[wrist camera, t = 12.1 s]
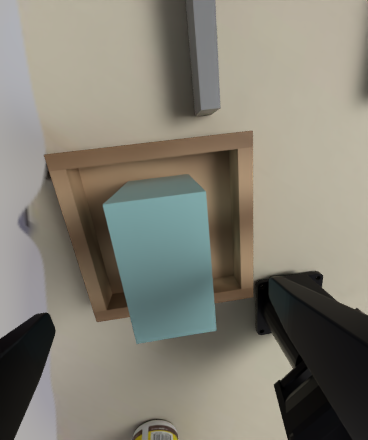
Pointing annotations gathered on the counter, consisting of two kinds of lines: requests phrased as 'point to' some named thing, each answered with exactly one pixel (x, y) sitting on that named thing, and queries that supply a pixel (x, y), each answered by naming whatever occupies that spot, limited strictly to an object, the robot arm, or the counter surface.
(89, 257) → the tray
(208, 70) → the bay
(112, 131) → the counter surface
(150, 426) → the supplement bottle
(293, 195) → the counter surface
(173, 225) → the tall aqua prism
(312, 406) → the robot arm
